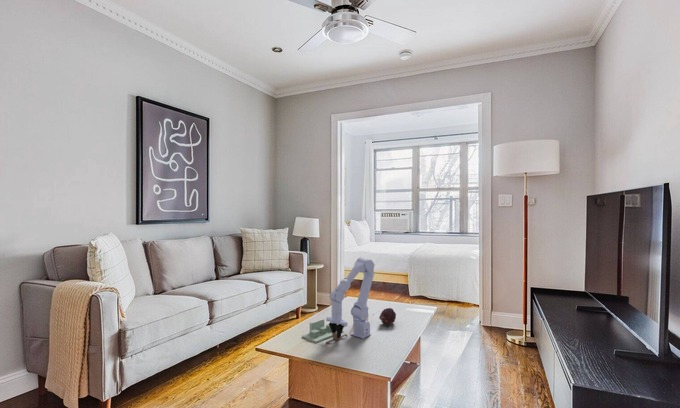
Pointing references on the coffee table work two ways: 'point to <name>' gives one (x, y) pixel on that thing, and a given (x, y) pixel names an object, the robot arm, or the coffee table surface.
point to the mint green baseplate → (318, 331)
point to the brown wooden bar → (336, 338)
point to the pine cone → (388, 316)
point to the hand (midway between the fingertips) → (336, 336)
